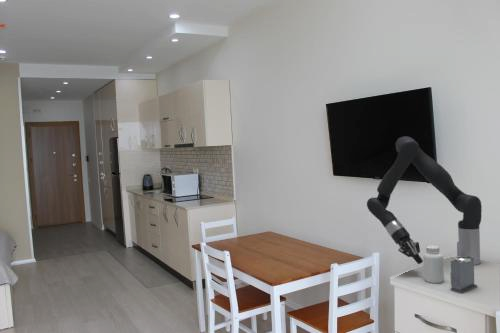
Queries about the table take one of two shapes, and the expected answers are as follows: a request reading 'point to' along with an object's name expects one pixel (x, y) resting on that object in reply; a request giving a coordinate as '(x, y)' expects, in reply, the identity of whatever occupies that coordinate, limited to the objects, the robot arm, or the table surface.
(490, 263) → the table surface
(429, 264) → the pill bottle
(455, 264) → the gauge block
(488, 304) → the table surface
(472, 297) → the table surface
